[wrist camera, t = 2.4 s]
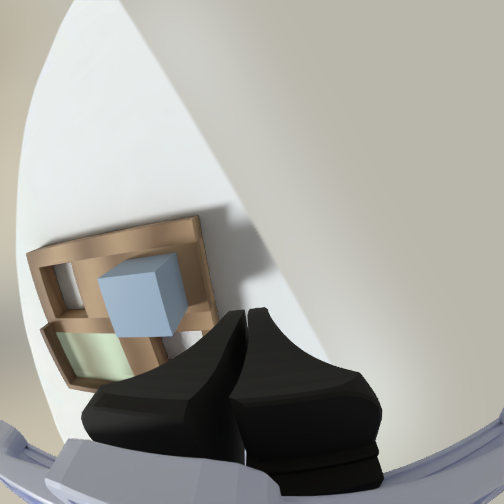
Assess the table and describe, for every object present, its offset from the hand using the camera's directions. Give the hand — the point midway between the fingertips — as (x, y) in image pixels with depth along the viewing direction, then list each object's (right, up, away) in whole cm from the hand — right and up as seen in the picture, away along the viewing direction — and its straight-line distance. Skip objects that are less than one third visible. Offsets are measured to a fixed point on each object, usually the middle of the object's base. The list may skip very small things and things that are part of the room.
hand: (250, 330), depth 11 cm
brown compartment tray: (-11, -2, +11) cm, 16 cm away
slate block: (-7, +1, +8) cm, 10 cm away
